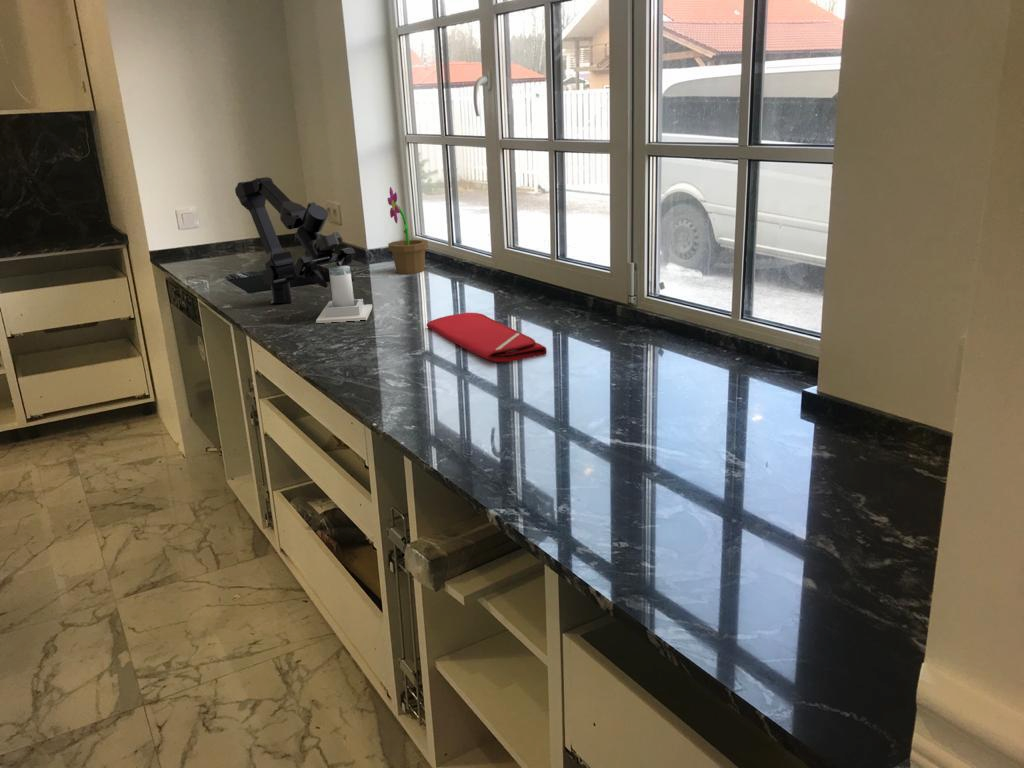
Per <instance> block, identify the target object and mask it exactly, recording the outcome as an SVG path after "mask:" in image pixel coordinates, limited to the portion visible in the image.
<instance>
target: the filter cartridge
mask: <svg viewBox="0 0 1024 768" xmlns="http://www.w3.org/2000/svg"><path fill="white" fill-rule="evenodd" d="M328 273H329V281H330V288H331V297H332V301H333V306H334V307H348V306H355V304H354V299H355V296H354V289H353V282H352V279H351V270H350V266H337V265H336V266H332V267H331V266H330V267H329V268H328Z"/></svg>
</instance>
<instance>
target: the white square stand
mask: <svg viewBox="0 0 1024 768" xmlns="http://www.w3.org/2000/svg"><path fill="white" fill-rule="evenodd" d="M354 304H355V306H348V307H334V306H333V300H329V301H328V302H327V304H326V305H325V307H324V308H323V309H322V311H321V313H320V314H319V315H318V317H317V318H316V320H315V324H316V323H325V324H332V323H331V322H340V323H347V322H346V321H355V322H361V321H360V320H366V321H367V320H368V318H369V316H370V313H371V311H372V309H373V304H372V303H371V304H370V303H369V304H368V303H367V304H364V299H363V298H357V299H356V298H354Z"/></svg>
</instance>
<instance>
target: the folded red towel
mask: <svg viewBox="0 0 1024 768" xmlns="http://www.w3.org/2000/svg"><path fill="white" fill-rule="evenodd" d="M426 327H427V328H428V329H429V330H432V331H433V332H435V333H436V334H438V335H439V336H442V337H443V338H445V339H447V340H448V341H450V342H451V343H453V344H456V345H457V346H459V347H461V348H463V349H465V350H466V351H468V352H471V353H472V354H474V355H477V356H478V357H481V358H483V359H486V360H488V361H492V362H494V363H495V362H496V363H508V362H514V361H519V360H524V358H525V359H530V358H535V357H534V356H536V357H539V356H538V355H541V356H545V355H544V354H546V355H547V352H548V351H547V347H546V346H544V345H543V344H541V343H539V342H536V340H535V339H534V338H532V337H530V336H528V335H527V334H523V333H521V332H520V331H518V330H515V329H513V328H511V327H509V326H507V325H505V324H502V323H501V322H499V321H497V320H495V319H493V318H491V317H488V316H487V315H485V314H482V313H479V312H464V313H463V312H462V313H457V314H451V315H445V316H442V317H438V318H435V319H433V320H430V321H428V322H427V323H426ZM529 357H530V358H529Z"/></svg>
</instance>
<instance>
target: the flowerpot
mask: <svg viewBox="0 0 1024 768" xmlns="http://www.w3.org/2000/svg"><path fill="white" fill-rule="evenodd" d="M389 196H390V197H387V203H388V205H389V206H391V208H389V209H390V210H389V216H390V218H391V219H392V218H393V219H394V222H395V224H398V214H399V213H400V215H401V216H402V220H403V224H404V227H405V228H404V230H403V233H404V234H405V239H402V240H396V241H392V242H388V243H387V246H388V251H389V252H391V253H392V258H393V263H394V266H395V271H396V273H397V274H400V275H413V274H414V275H415V274H421V273H423V272H425V267H426V263H425V262H426V249H428V248H429V242H428V240H426V239H410V235H409V229H408V228H409V226H408V224H407V223H408V222H407V219H406V216H405V213H404V212H403V210H402V209H401V207H400V206H399V204H398V203H397V202H398V195H397V192H394V191H393V188H392V186H389Z"/></svg>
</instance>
